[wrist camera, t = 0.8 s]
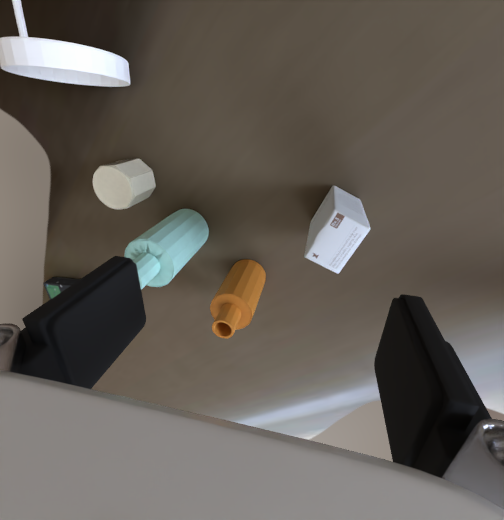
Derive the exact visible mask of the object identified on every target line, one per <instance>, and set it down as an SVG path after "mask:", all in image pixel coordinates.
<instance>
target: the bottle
mask: <svg viewBox="0 0 504 520" xmlns="http://www.w3.org/2000/svg"><path fill="white" fill-rule="evenodd" d="M208 235H209V229H208V225H207V223H206V221H205V219H204V218H203V217H202V216H201V215H200V214H199V213H197V212H196V211H194V210H191V209H180V210H178V211H176V212H174V213H172V214H171V215H170V216H168V217H167V218H165V219H164V220H162V221H161V222H159V223H158V224H156V225H155V226H154V227H152V228H151V229H149V230H148V231H146V232H145V233H143V234H142V235H140V236H139V237H138V238H136V239H135V240H133V241H132V242H130V243H129V245H128V246H127V248H126V249H125V256H124V257H127V258H131V259H132V260H133V262H134V263H136V265H137V270H138V276H139V281H140V287H141V289H142V288H143V287H144V286H145V285H148V286H151V287H161V286H164V285H167V284H168V283H169V282H170V281H171V280H172V279H173V278H174V277H175V275H176V274H177V273H178V272H179V271H180V270H181V269H182V268H183V267H184V265H185V264H186V263H187V262H188V261H189V260H190V259H191V258H192V257H193V255H194V254H195V253H196V252H197V251H198V250H199V249H200V248H201V247H202V245H203V244H204V243H205V242H206V240H207V238H208Z"/></svg>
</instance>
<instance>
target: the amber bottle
mask: <svg viewBox="0 0 504 520" xmlns="http://www.w3.org/2000/svg"><path fill="white" fill-rule="evenodd" d="M265 279H266V274H265V271H264V269H263V268H262V266H261V265H260V264H258V263H257V262H255V261H253V260H249V259H244V260H240V261H238V262H236V263H235V264H234V265H233V267H232V268H231V270H230V271H229V273H228V275H227V276H226V278H225V280H224V282H223V283H222V285H221V287H220V288H219V290H218V292H217V293H216V295H215V297H214V298H213V300H212V302H211V306H210V310H211V314H212V316H213V318H214V319H215V321H214V323H213V325H212V330H213V332H214V333H215V334H216V335H217V336H219V337H221V338H229V337H232V335H233V334H234V332H235V329H241V328H245V327H246V326H247V325H248V324H250V322H251V319H252V317H253V314H254V311H255V308H256V306H257V303H258V300H259V297H260V294H261V291H262V289H263V286H264V283H265Z"/></svg>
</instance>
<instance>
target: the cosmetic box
mask: <svg viewBox="0 0 504 520" xmlns="http://www.w3.org/2000/svg"><path fill="white" fill-rule="evenodd" d="M370 229H371V228H370V225H369V222H368V220H367V217H366V214H365V211H364V209H363V206H362V203H361V200H360V199H358V198H356V197H354V196H353V195H351V194H349V193H347V192H345V191H343V190H342V189H340V188H338V187H336V186H334V185H333V186H332V187H331V189H330V191H329V192H328V194H327V196H326V197H325V199H324V200H323V202H322V204H321V205H320V207H319V209H318V210H317V212H316V213H315V215H314V217H313V218H312V220H311V222H310V227H309V233H308V239H307V244H306V249H305V255H304V257H306V258H307V259H309V260H311V261H313V262H315V263H317V264H319V265H321V266H323V267H325V268H327V269H329V270H331V271H333V272H335V273H337V274H338V273H339V272H340V271H341V269H342V268H343V267H344V265H345V264H346V262H347V261H348V260H349V258H350V257H351V256H352V254H353V253H354V251H355V250H356V249H357V247H358V246H359V244H360V243H361V242H362V240H363V239H364V237H365V236H366V235H367V233H368V232H369V231H370Z"/></svg>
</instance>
